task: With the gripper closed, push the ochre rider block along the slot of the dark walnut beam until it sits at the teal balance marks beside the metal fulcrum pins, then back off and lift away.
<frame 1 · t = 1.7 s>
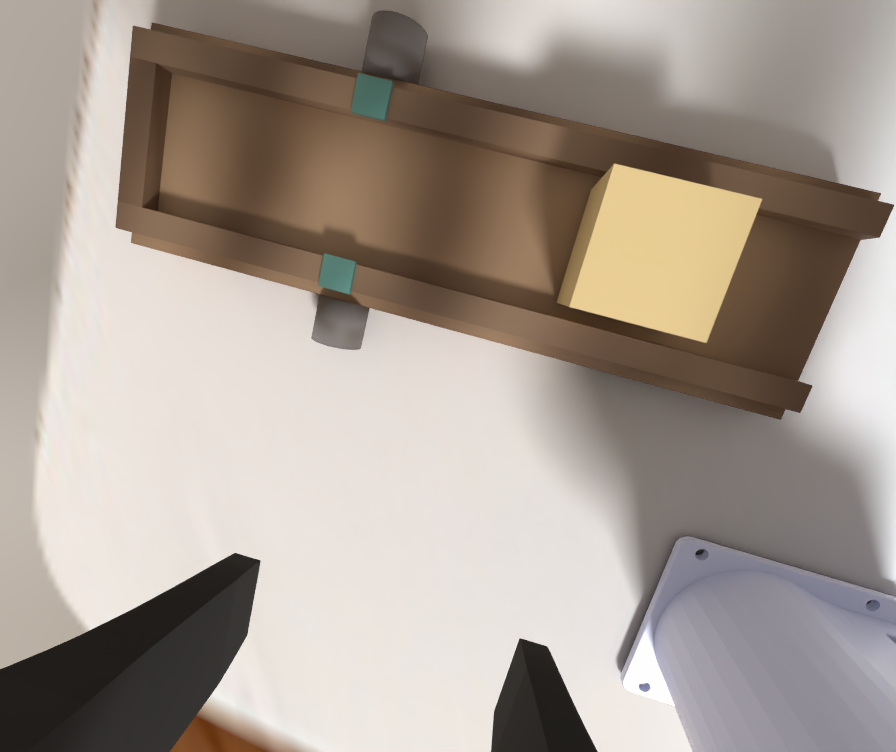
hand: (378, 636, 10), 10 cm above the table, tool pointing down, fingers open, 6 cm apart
balance beam: (468, 225, 18), on the table
rider: (643, 259, 14), point 3 cm above the table, slide at 0.0 cm
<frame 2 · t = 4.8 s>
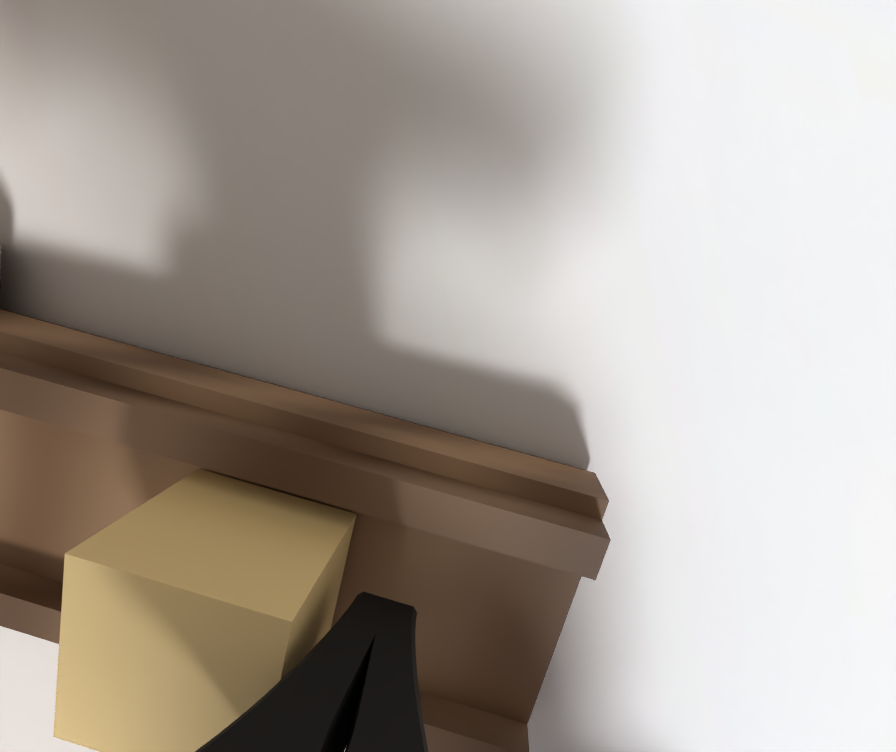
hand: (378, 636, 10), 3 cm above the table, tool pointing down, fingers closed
balance beam: (111, 475, 13), on the table
rider: (223, 611, 10), point 3 cm above the table, slide at 0.5 cm, touching gripper
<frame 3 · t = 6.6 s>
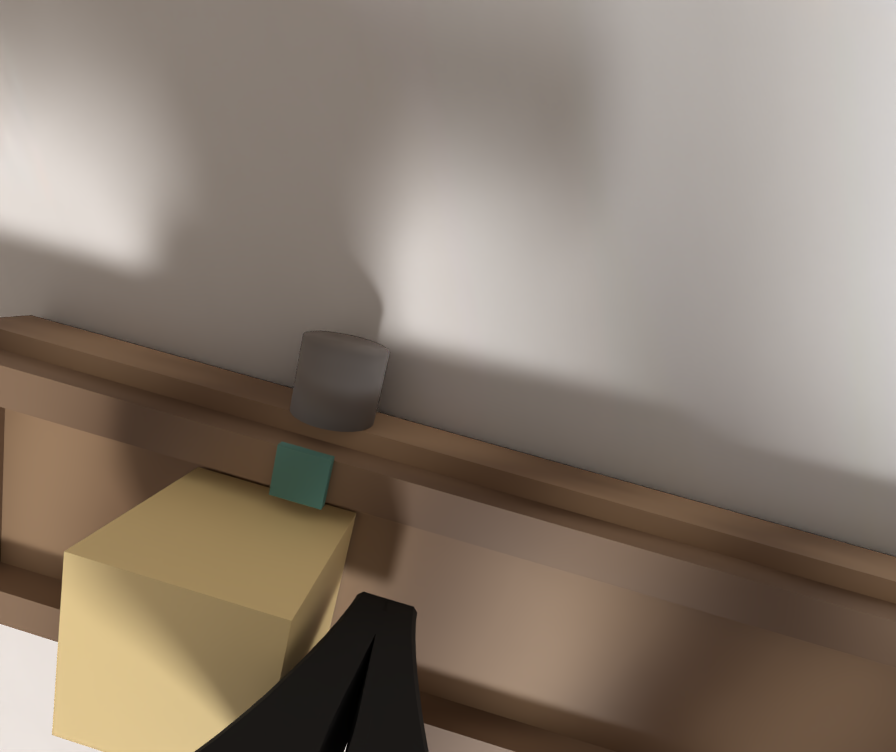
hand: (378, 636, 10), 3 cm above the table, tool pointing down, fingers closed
balance beam: (454, 574, 13), on the table
rider: (222, 610, 10), point 3 cm above the table, slide at 10.8 cm, touching gripper
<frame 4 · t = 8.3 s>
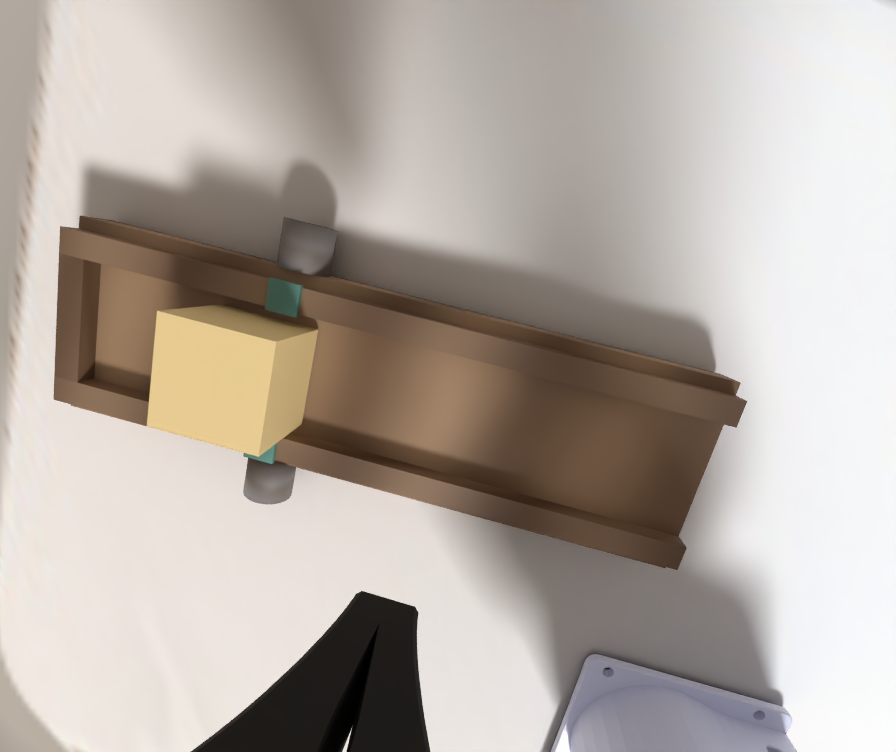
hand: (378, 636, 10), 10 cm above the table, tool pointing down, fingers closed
balance beam: (386, 386, 20), on the table
rider: (238, 374, 17), point 3 cm above the table, slide at 10.8 cm
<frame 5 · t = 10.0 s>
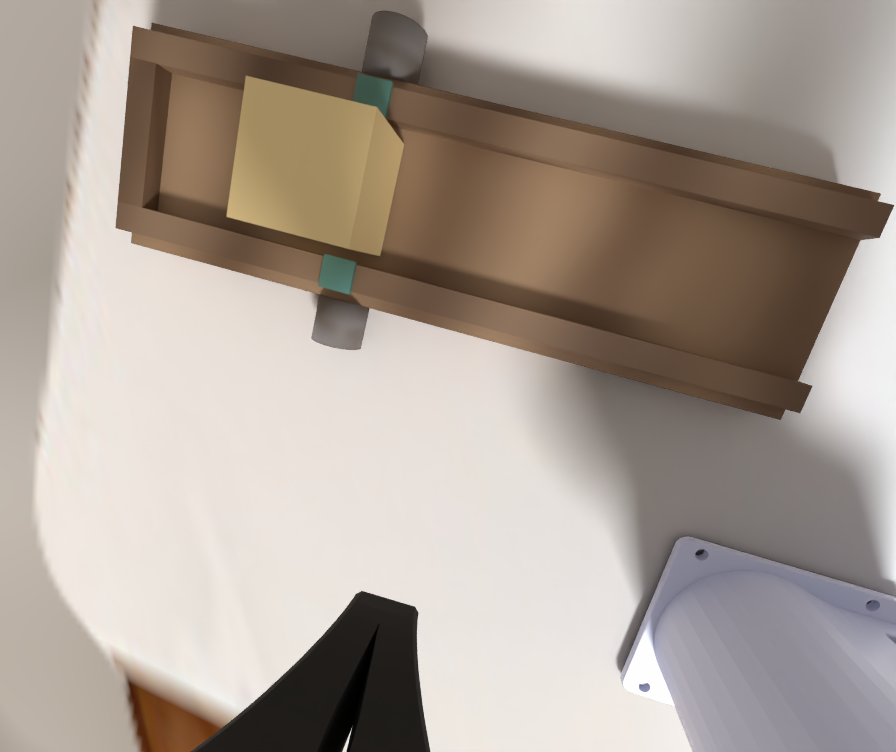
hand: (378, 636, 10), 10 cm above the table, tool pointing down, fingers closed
balance beam: (468, 226, 18), on the table
rider: (321, 177, 15), point 3 cm above the table, slide at 10.8 cm
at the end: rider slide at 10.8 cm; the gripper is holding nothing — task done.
